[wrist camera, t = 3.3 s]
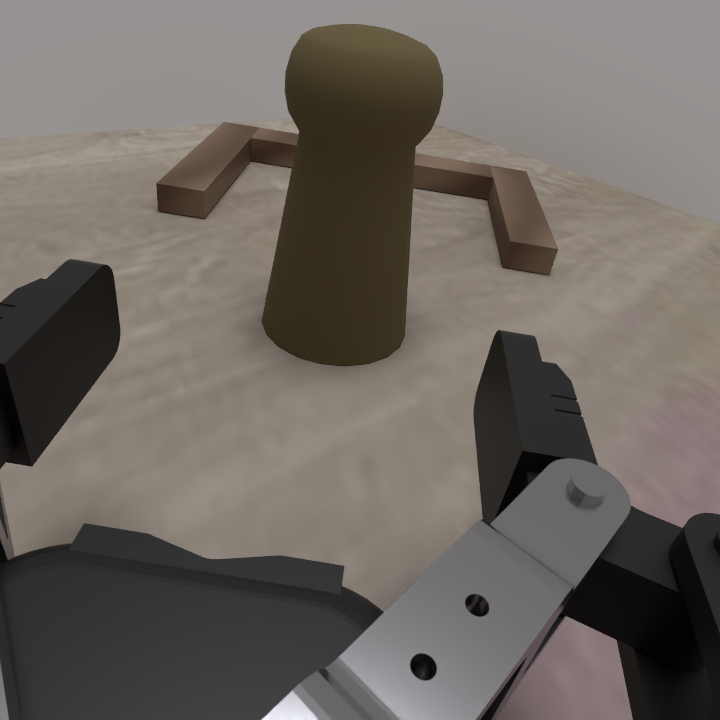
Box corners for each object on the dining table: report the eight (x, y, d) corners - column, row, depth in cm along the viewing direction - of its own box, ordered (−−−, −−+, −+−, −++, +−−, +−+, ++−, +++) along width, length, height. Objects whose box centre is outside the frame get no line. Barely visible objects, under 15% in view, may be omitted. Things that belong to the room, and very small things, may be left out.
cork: (241, 296, 26) (246, 5, 19) (363, 279, 29) (403, 18, 22) (296, 378, 22) (325, 44, 15) (432, 350, 25) (505, 55, 18)
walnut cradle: (158, 211, 32) (156, 183, 31) (224, 144, 42) (223, 122, 41) (549, 274, 32) (558, 249, 31) (519, 192, 42) (526, 171, 41)
